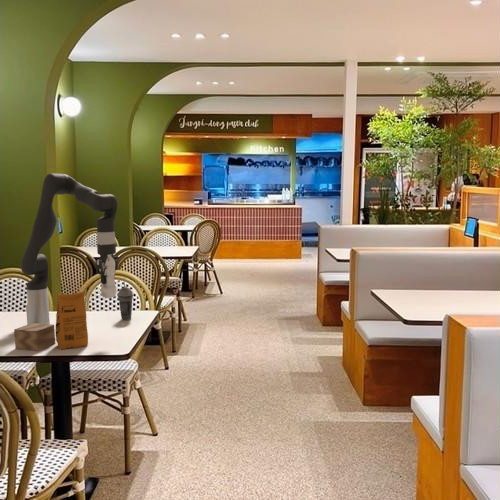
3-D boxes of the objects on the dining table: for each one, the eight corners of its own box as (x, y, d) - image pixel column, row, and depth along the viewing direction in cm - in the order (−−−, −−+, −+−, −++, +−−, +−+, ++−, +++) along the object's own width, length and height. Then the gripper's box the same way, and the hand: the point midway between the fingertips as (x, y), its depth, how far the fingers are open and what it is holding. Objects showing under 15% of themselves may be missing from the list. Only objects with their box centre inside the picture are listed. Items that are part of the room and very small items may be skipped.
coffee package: (55, 344, 249) (52, 292, 246) (86, 340, 253) (83, 289, 251) (57, 350, 240) (54, 296, 237) (89, 346, 244) (86, 293, 242)
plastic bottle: (119, 296, 254) (118, 249, 252) (111, 299, 248) (109, 251, 245) (106, 295, 256) (104, 249, 254) (97, 298, 250) (95, 251, 247)
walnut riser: (15, 348, 243) (14, 329, 242) (33, 341, 254) (32, 323, 253) (37, 350, 240) (36, 331, 239) (55, 343, 250) (54, 324, 249)
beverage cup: (121, 321, 286) (119, 280, 283) (117, 318, 292) (115, 277, 289) (135, 319, 289) (134, 278, 286) (131, 316, 295) (129, 276, 293)
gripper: (108, 240, 257) (109, 279, 259) (88, 244, 244) (90, 285, 246) (123, 240, 254) (125, 280, 257) (104, 244, 241) (106, 286, 243)
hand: (108, 282), depth 251 cm, fingers closed on plastic bottle, 5 cm apart
